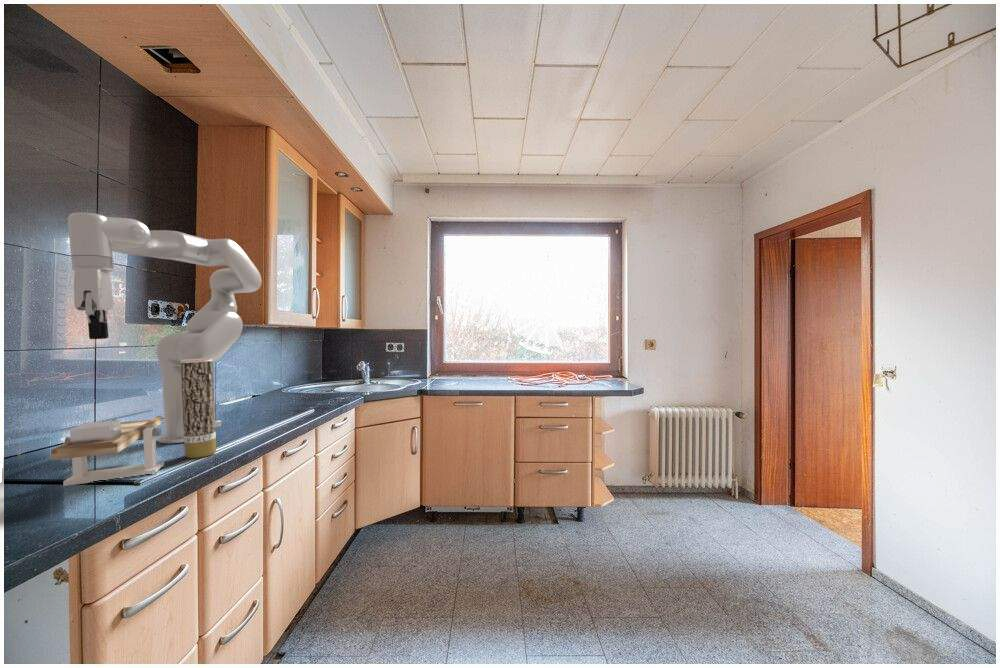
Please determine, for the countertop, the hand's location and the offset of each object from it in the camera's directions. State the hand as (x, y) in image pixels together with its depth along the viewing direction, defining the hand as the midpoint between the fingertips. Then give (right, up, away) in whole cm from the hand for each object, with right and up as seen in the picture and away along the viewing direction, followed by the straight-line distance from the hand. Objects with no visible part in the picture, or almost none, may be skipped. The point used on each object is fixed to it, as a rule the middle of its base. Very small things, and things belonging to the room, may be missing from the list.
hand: (99, 338), depth 108 cm
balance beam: (+13, -26, -10) cm, 30 cm away
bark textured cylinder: (+22, -31, +5) cm, 38 cm away
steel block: (+16, -22, -18) cm, 32 cm away
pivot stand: (+13, -31, -9) cm, 35 cm away
